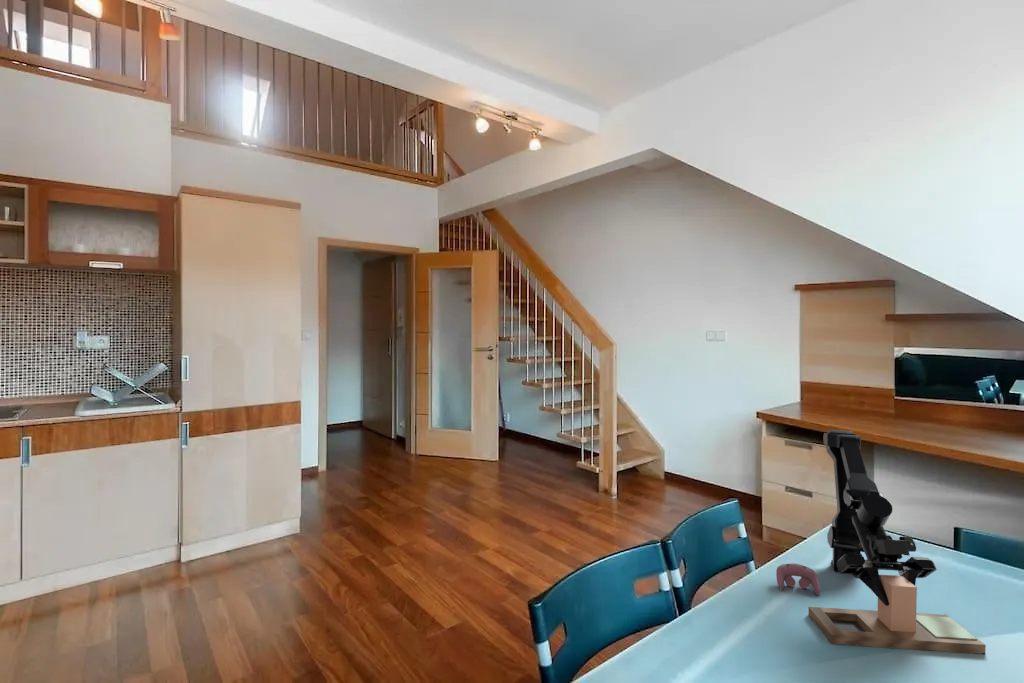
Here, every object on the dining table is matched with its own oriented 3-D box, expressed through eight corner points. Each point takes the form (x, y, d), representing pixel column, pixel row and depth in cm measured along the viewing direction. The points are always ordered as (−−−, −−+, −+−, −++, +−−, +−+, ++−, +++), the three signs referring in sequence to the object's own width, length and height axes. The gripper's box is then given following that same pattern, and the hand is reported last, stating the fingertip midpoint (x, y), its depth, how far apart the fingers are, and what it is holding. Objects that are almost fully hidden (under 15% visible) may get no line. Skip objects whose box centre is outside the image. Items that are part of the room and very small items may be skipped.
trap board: (831, 643, 109) (831, 633, 109) (808, 614, 120) (808, 605, 120) (985, 654, 106) (985, 643, 106) (946, 623, 117) (947, 613, 117)
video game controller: (818, 595, 132) (815, 566, 134) (822, 596, 128) (819, 566, 130) (775, 589, 135) (773, 561, 138) (778, 590, 131) (776, 560, 134)
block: (891, 630, 111) (891, 585, 110) (877, 617, 116) (878, 574, 115) (915, 632, 110) (916, 587, 110) (901, 619, 115) (902, 575, 115)
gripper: (843, 519, 117) (870, 591, 107) (931, 523, 115) (968, 597, 104) (826, 538, 125) (849, 607, 115) (908, 542, 123) (939, 612, 112)
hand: (900, 605), depth 111 cm, fingers closed on block, 5 cm apart
